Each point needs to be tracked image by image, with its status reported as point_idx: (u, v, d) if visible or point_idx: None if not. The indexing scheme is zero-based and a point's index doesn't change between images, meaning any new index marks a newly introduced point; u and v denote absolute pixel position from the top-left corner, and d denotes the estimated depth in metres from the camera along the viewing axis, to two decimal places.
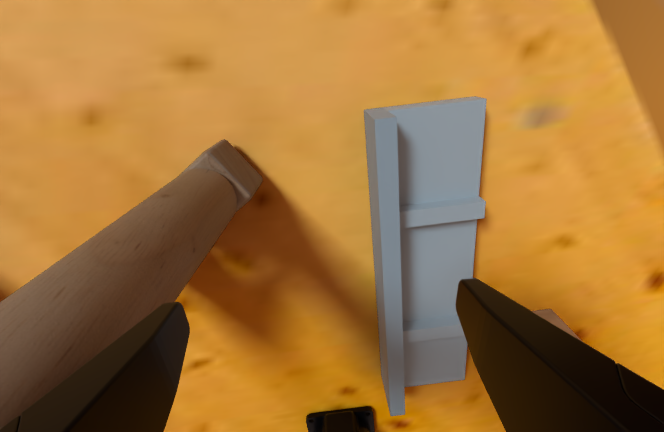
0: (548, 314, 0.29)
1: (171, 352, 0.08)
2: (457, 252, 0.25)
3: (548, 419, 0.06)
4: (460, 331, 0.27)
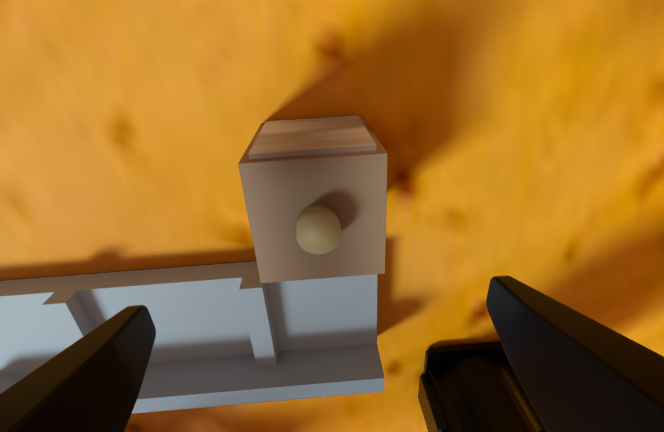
0: None
1: (133, 355, 0.08)
2: (141, 303, 0.19)
3: (595, 414, 0.06)
4: (256, 304, 0.19)
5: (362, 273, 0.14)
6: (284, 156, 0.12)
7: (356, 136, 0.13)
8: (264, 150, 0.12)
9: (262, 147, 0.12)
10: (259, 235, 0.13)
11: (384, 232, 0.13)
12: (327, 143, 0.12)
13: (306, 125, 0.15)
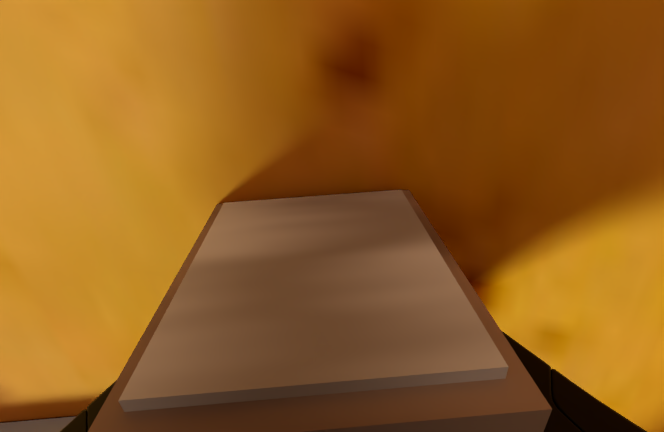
0: None
1: None
2: None
3: None
4: None
5: None
6: (230, 398, 0.04)
7: (427, 295, 0.05)
8: (174, 375, 0.04)
9: (175, 349, 0.04)
10: None
11: None
12: (356, 338, 0.04)
13: (301, 225, 0.07)
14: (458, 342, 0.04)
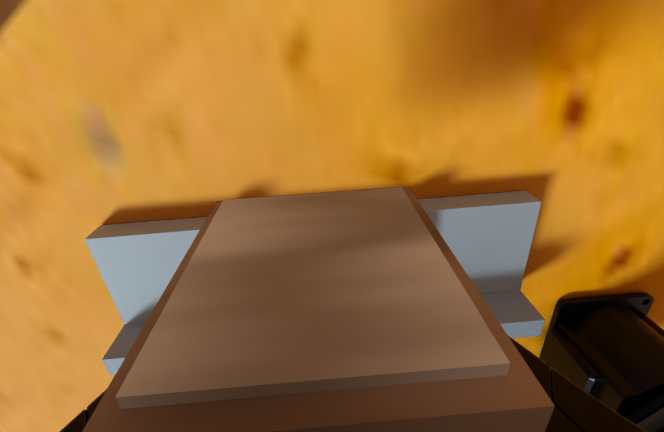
0: None
1: None
2: None
3: None
4: None
5: None
6: (229, 396, 0.04)
7: (428, 291, 0.05)
8: (171, 372, 0.04)
9: (173, 346, 0.04)
10: None
11: None
12: (356, 334, 0.04)
13: (301, 222, 0.07)
14: (459, 339, 0.04)
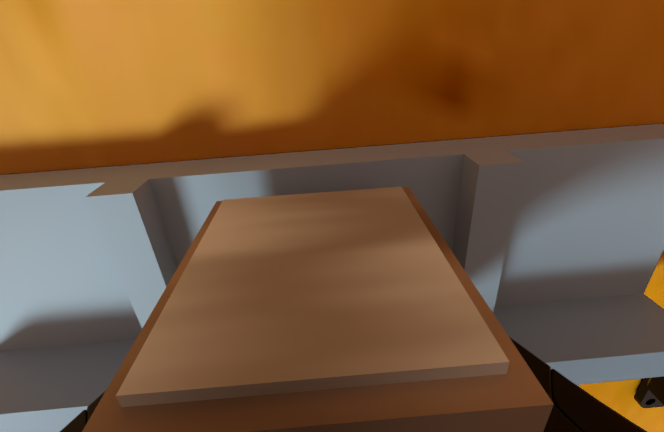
0: None
1: None
2: None
3: None
4: (499, 201, 0.09)
5: None
6: (230, 393, 0.04)
7: (427, 291, 0.05)
8: (172, 371, 0.04)
9: (174, 345, 0.04)
10: None
11: None
12: (356, 333, 0.04)
13: (301, 222, 0.07)
14: (459, 337, 0.04)
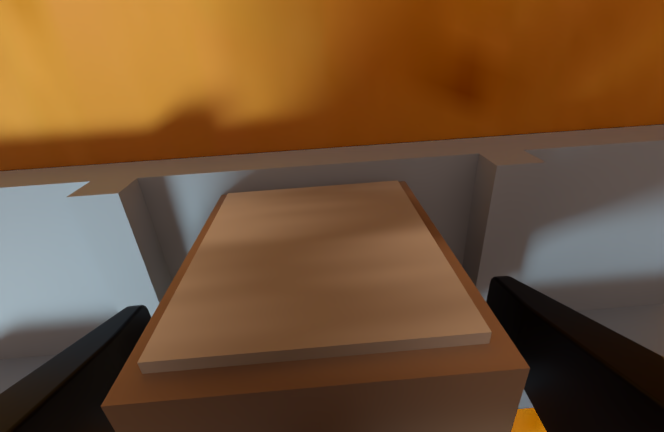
0: None
1: None
2: None
3: (595, 414, 0.06)
4: (517, 205, 0.09)
5: None
6: (239, 362, 0.04)
7: (419, 273, 0.05)
8: (187, 342, 0.04)
9: (187, 320, 0.05)
10: None
11: None
12: (354, 309, 0.05)
13: (302, 213, 0.08)
14: (447, 312, 0.05)
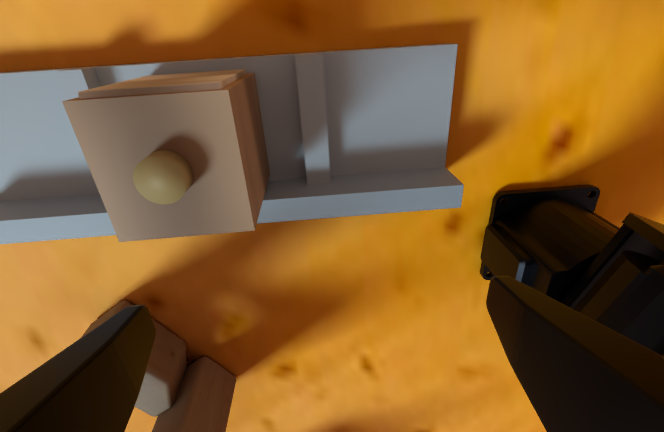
0: None
1: (133, 355, 0.08)
2: None
3: (595, 414, 0.06)
4: (313, 82, 0.15)
5: (229, 230, 0.13)
6: (119, 95, 0.11)
7: (212, 79, 0.12)
8: (99, 89, 0.11)
9: (101, 88, 0.11)
10: (105, 186, 0.12)
11: (244, 183, 0.12)
12: (172, 83, 0.11)
13: (180, 75, 0.14)
14: (209, 81, 0.11)
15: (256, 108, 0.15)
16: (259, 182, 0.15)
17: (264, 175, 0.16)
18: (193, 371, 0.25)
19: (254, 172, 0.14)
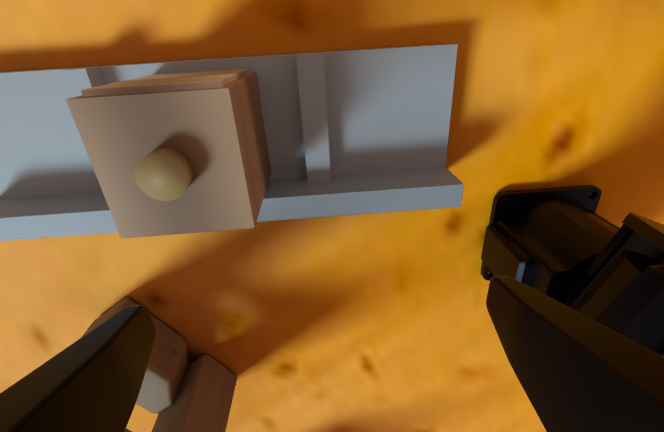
0: None
1: (133, 355, 0.08)
2: None
3: (595, 414, 0.06)
4: (314, 81, 0.15)
5: (229, 227, 0.13)
6: (122, 93, 0.11)
7: (213, 77, 0.12)
8: (102, 88, 0.11)
9: (104, 86, 0.11)
10: (107, 183, 0.12)
11: (244, 180, 0.12)
12: (174, 82, 0.11)
13: (182, 75, 0.14)
14: (210, 80, 0.11)
15: (257, 107, 0.16)
16: (260, 180, 0.15)
17: (265, 174, 0.16)
18: (194, 369, 0.25)
19: (254, 170, 0.14)
